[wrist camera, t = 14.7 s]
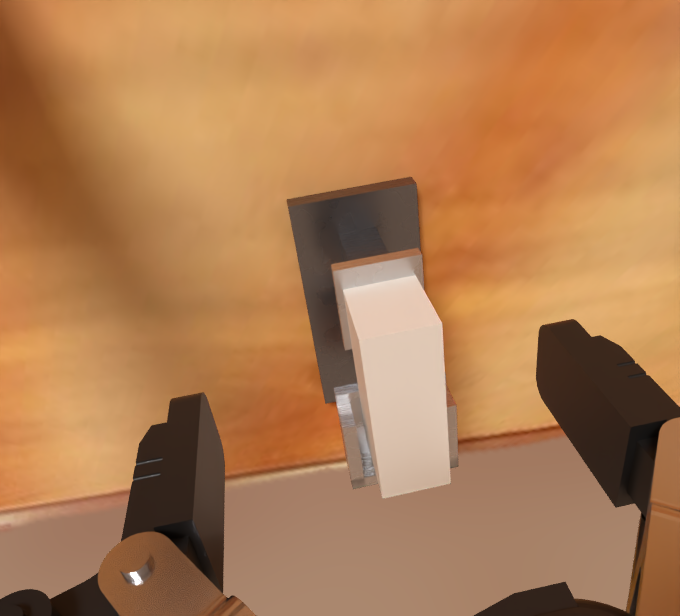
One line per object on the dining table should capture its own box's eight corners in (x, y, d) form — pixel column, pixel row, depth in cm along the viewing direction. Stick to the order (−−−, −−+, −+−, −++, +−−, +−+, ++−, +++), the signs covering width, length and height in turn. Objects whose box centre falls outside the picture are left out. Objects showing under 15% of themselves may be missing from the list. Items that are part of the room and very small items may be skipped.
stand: (323, 393, 57) (344, 495, 46) (286, 199, 46) (302, 275, 36) (424, 372, 57) (467, 469, 47) (411, 176, 47) (463, 244, 36)
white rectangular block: (366, 439, 47) (382, 498, 42) (342, 289, 39) (359, 340, 34) (427, 425, 47) (450, 483, 42) (415, 275, 40) (442, 323, 35)
